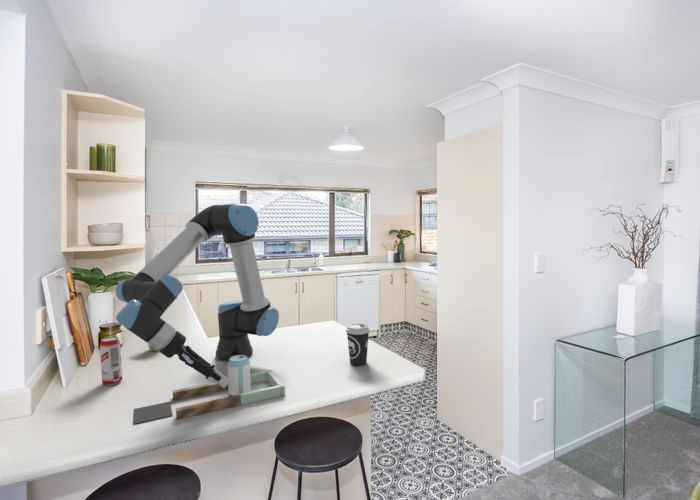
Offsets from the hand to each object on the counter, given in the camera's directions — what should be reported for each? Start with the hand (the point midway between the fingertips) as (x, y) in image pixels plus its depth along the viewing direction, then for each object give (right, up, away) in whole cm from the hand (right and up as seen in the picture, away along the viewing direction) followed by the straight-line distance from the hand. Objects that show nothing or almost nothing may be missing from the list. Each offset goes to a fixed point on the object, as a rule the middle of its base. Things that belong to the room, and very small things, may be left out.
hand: (226, 383), depth 126 cm
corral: (+8, -4, +6) cm, 11 cm away
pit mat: (-19, -6, -8) cm, 22 cm away
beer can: (-45, -5, +14) cm, 48 cm away
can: (+3, -5, +4) cm, 7 cm away
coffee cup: (+43, -2, +30) cm, 52 cm away
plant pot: (-47, -2, +51) cm, 70 cm away
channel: (-6, -5, -1) cm, 8 cm away
